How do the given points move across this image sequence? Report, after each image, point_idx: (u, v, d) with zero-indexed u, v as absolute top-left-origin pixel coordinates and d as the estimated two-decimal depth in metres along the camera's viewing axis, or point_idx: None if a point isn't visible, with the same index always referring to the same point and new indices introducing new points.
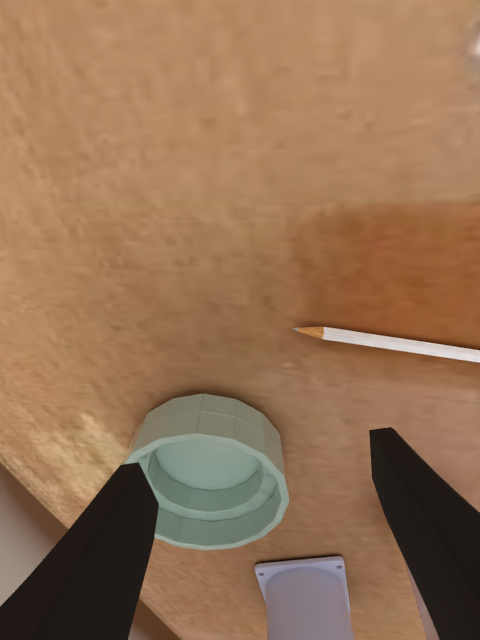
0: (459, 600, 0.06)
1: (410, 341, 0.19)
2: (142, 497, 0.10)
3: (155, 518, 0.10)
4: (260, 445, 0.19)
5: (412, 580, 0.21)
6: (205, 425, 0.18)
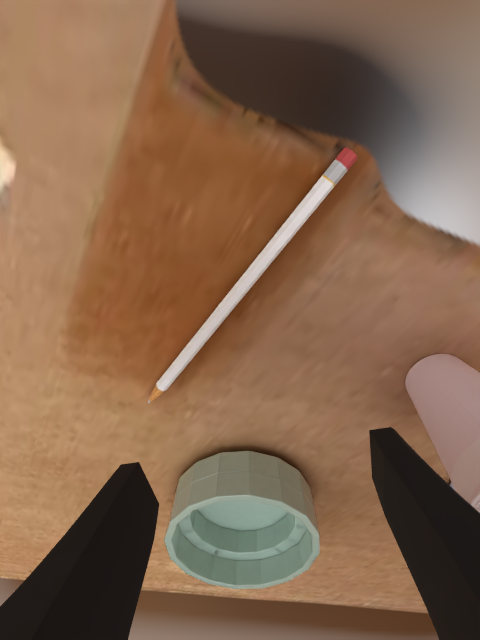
0: (459, 600, 0.06)
1: (201, 328, 0.19)
2: (142, 497, 0.10)
3: (155, 518, 0.10)
4: (213, 490, 0.21)
5: None
6: (175, 509, 0.22)
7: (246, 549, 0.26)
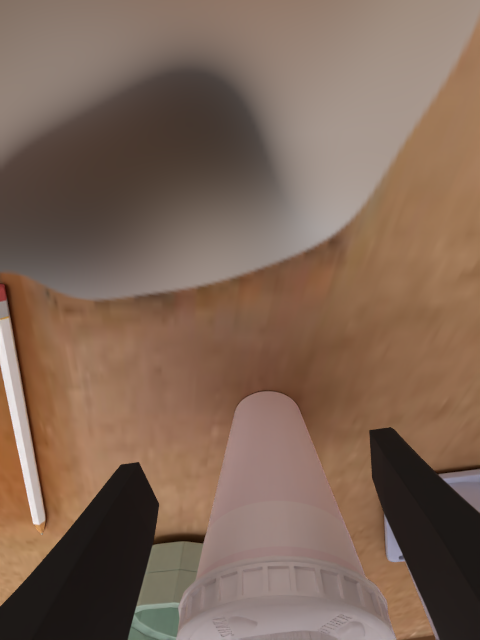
0: (459, 600, 0.06)
1: None
2: (142, 497, 0.10)
3: (155, 518, 0.10)
4: None
5: None
6: None
7: None
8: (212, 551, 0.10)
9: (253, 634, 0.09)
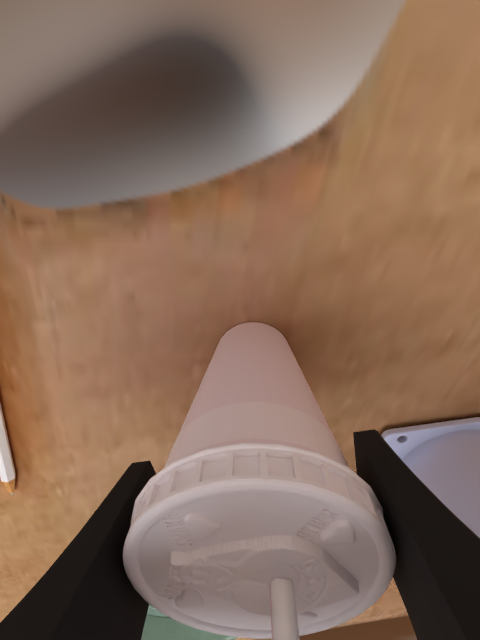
0: (432, 602, 0.06)
1: None
2: None
3: None
4: None
5: None
6: None
7: None
8: (173, 456, 0.08)
9: (217, 541, 0.07)
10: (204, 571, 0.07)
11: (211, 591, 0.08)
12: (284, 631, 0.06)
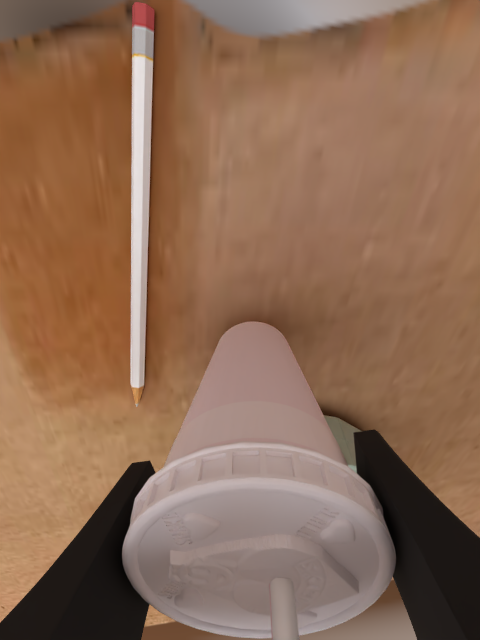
0: (432, 602, 0.06)
1: (131, 303, 0.17)
2: None
3: None
4: None
5: None
6: None
7: None
8: (173, 455, 0.08)
9: (216, 541, 0.07)
10: (203, 570, 0.07)
11: (210, 591, 0.08)
12: (284, 631, 0.06)
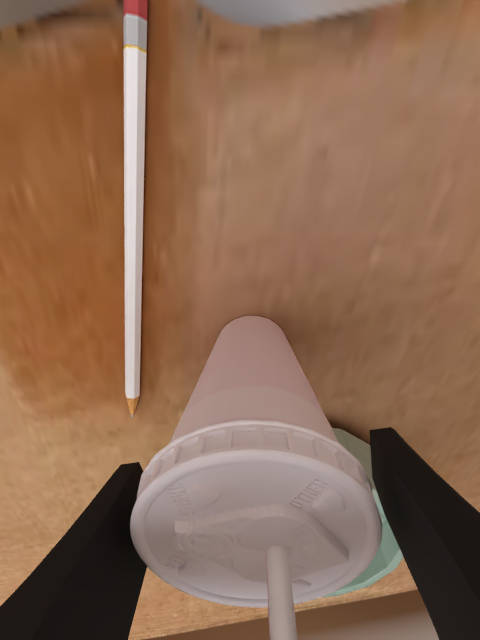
0: (459, 600, 0.06)
1: (125, 310, 0.16)
2: None
3: None
4: None
5: None
6: None
7: None
8: (176, 436, 0.09)
9: (217, 511, 0.08)
10: (205, 539, 0.08)
11: (212, 559, 0.08)
12: (279, 590, 0.07)
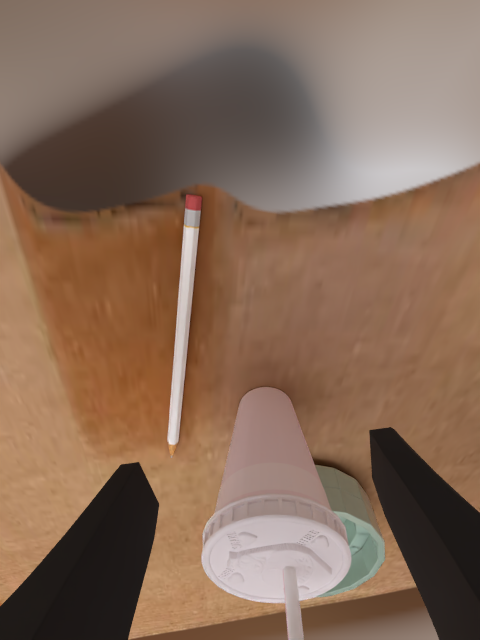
0: (459, 600, 0.06)
1: (172, 384, 0.21)
2: (142, 497, 0.10)
3: (155, 518, 0.10)
4: None
5: None
6: None
7: None
8: (226, 496, 0.14)
9: (254, 546, 0.13)
10: (247, 562, 0.13)
11: (249, 573, 0.14)
12: (291, 592, 0.12)
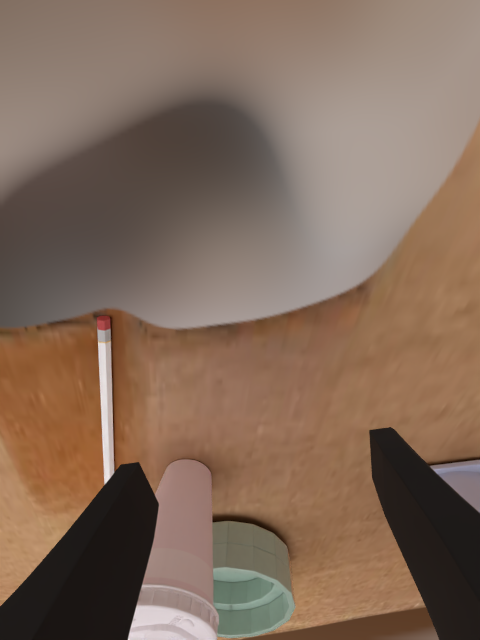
0: (459, 600, 0.06)
1: (103, 457, 0.24)
2: (142, 497, 0.10)
3: (155, 518, 0.10)
4: None
5: None
6: None
7: (253, 598, 0.29)
8: None
9: (135, 625, 0.16)
10: (130, 638, 0.16)
11: None
12: None
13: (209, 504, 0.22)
